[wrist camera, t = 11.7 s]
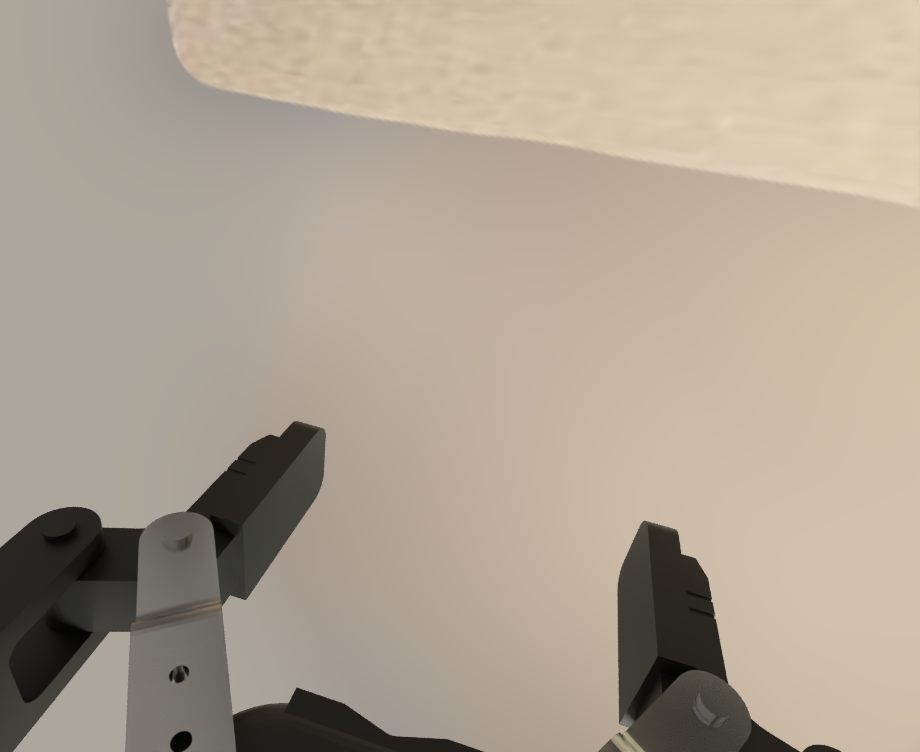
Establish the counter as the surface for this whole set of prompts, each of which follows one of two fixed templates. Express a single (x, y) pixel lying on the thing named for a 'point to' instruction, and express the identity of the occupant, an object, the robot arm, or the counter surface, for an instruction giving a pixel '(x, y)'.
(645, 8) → the counter surface
